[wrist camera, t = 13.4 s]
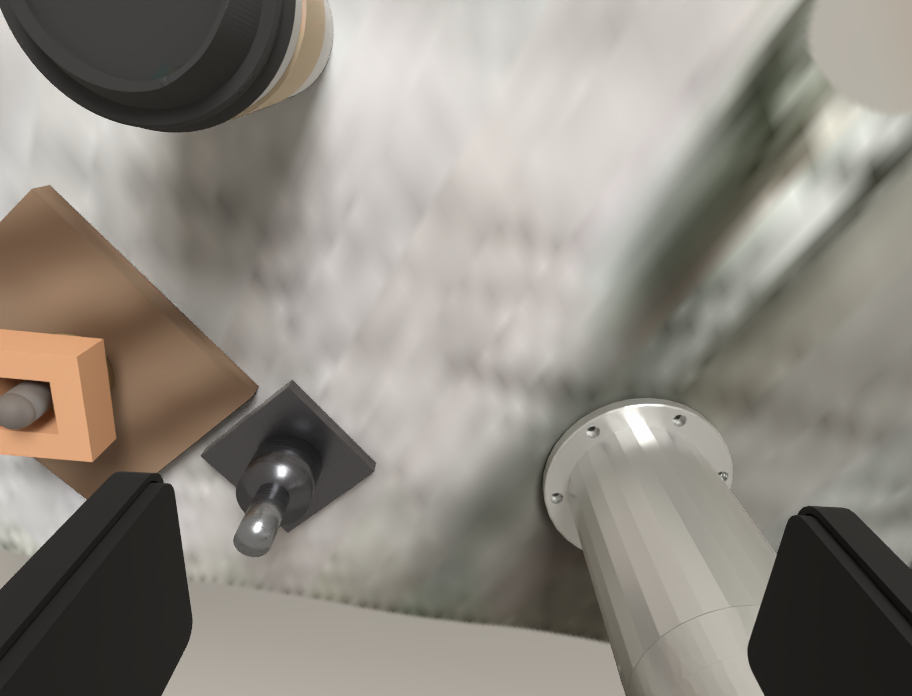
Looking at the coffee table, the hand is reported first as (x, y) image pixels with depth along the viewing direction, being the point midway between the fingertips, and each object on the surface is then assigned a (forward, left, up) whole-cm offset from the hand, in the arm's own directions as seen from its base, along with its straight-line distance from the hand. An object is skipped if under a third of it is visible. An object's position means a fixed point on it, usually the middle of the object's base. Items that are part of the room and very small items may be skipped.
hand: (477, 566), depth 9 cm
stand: (-5, +18, -27) cm, 33 cm away
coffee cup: (+14, +1, -27) cm, 30 cm away
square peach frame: (+8, +23, -23) cm, 34 cm away
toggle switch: (+8, +23, -27) cm, 36 cm away
